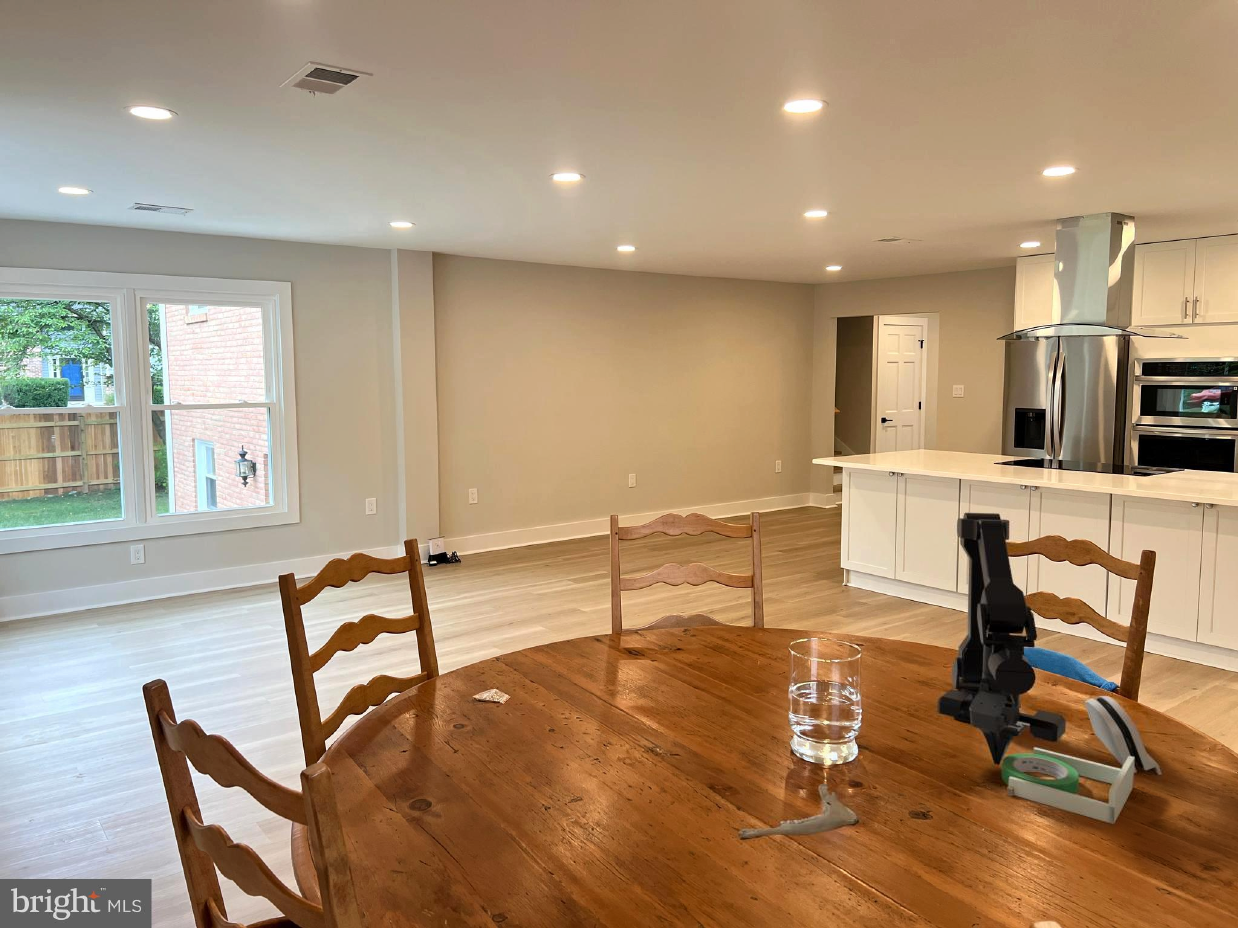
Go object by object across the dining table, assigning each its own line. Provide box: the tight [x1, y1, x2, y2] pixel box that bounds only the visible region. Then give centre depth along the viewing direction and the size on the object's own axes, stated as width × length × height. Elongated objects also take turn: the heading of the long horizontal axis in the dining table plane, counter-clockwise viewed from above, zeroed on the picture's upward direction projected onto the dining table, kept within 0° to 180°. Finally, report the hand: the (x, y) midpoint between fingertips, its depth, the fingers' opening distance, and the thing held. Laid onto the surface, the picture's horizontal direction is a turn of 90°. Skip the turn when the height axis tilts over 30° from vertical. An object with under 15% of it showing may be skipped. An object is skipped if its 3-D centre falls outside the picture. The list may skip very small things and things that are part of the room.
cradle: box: [1006, 746, 1135, 825], centre depth 134 cm, size 15×16×5 cm
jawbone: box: [738, 783, 859, 839], centre depth 125 cm, size 9×20×2 cm, turn 130°
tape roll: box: [1001, 752, 1080, 795], centre depth 137 cm, size 11×11×3 cm
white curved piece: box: [1084, 695, 1163, 776], centre depth 148 cm, size 17×5×10 cm, turn 169°
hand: (997, 763), depth 141 cm, fingers closed
